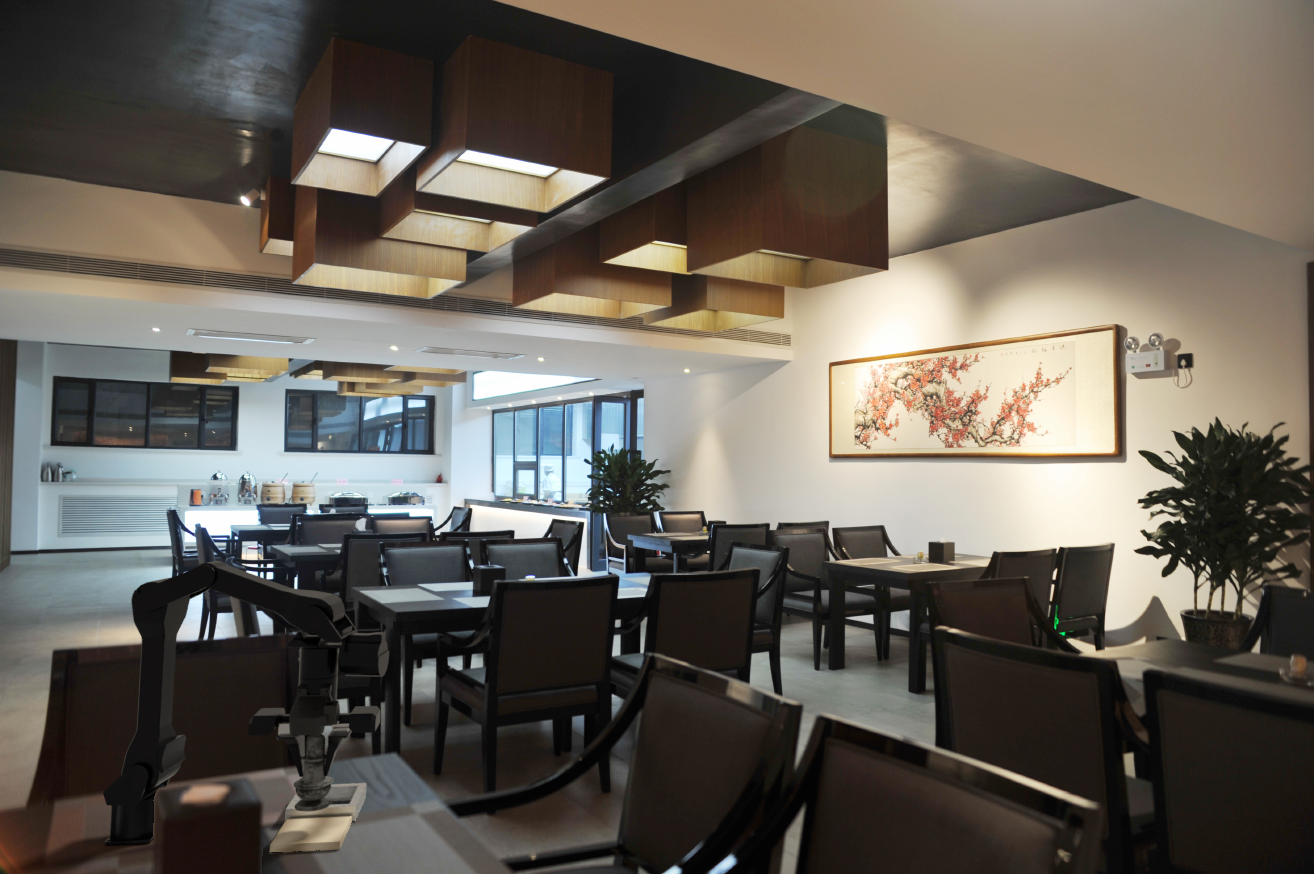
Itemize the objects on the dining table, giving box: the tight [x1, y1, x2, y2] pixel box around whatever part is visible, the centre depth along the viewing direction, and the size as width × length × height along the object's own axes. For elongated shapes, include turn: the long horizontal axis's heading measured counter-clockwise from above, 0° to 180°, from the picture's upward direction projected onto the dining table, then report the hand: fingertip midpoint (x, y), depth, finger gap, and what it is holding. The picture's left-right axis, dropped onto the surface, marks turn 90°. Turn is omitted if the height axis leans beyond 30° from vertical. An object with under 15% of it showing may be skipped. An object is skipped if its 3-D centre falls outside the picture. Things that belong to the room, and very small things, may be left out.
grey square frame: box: [284, 782, 368, 822], centre depth 144 cm, size 11×11×2 cm
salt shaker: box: [293, 733, 335, 812], centre depth 134 cm, size 6×6×12 cm
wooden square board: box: [269, 816, 353, 853], centre depth 133 cm, size 10×10×1 cm
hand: (313, 775), depth 134 cm, fingers closed on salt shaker, 3 cm apart
